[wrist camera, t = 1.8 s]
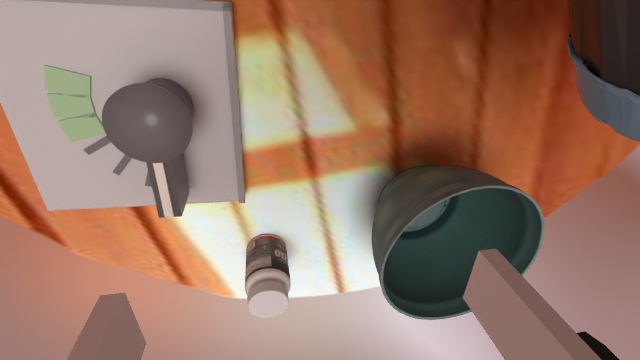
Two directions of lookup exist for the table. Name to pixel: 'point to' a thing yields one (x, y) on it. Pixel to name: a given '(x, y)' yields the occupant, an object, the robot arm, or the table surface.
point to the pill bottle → (267, 276)
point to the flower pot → (448, 235)
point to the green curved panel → (77, 110)
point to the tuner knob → (154, 135)
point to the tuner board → (109, 76)
